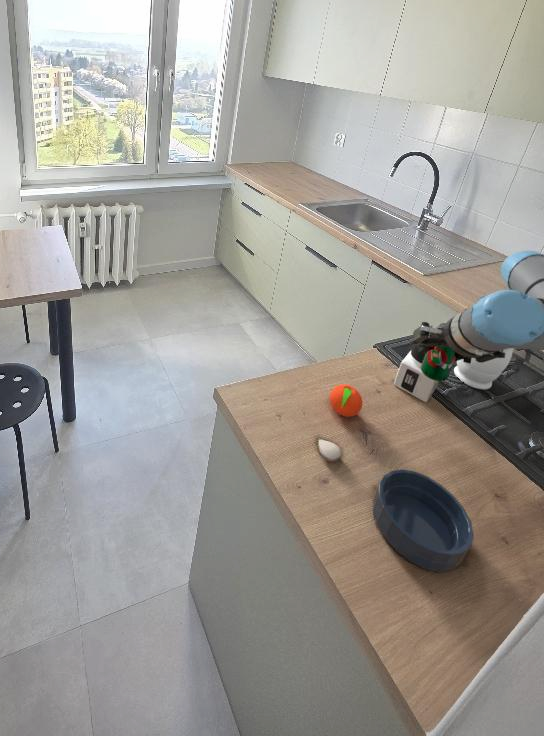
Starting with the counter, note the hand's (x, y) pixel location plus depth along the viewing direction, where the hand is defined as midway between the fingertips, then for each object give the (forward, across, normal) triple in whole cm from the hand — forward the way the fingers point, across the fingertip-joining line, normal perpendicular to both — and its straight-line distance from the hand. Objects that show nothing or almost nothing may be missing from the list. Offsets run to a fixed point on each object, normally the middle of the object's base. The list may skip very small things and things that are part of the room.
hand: (436, 351), depth 92 cm
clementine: (+7, -15, -19) cm, 25 cm away
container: (+20, +1, -6) cm, 21 cm away
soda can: (0, 0, -5) cm, 5 cm away
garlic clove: (-2, -17, -28) cm, 33 cm away
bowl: (-8, -1, -34) cm, 35 cm away
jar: (+27, +15, +2) cm, 31 cm away
